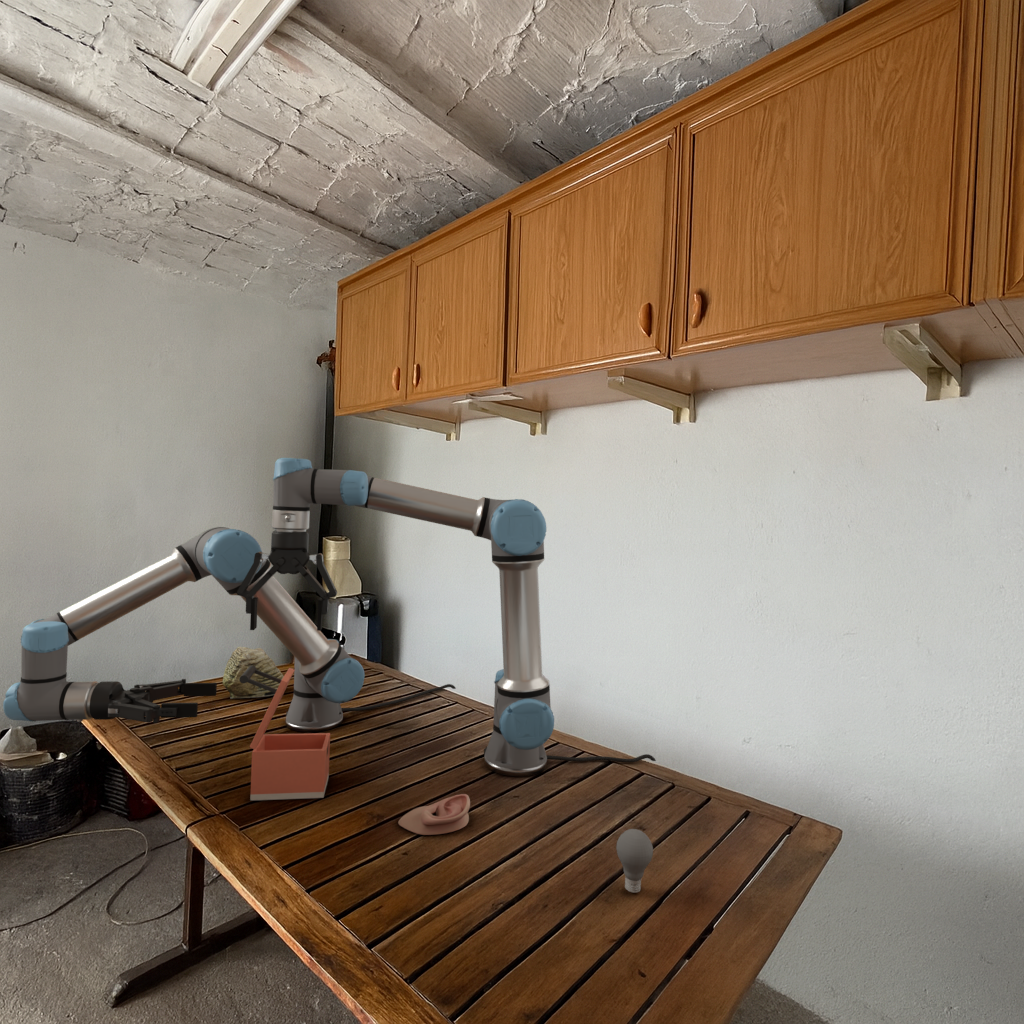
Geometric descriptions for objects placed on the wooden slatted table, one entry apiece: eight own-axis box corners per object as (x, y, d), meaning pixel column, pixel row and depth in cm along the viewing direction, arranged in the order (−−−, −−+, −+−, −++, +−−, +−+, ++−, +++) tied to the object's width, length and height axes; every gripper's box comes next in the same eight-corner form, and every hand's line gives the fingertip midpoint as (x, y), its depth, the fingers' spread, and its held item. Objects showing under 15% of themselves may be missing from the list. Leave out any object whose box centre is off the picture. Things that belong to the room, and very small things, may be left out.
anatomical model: (392, 810, 121) (414, 784, 132) (391, 830, 121) (413, 803, 132) (459, 820, 118) (475, 792, 130) (458, 841, 118) (474, 812, 130)
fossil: (218, 695, 195) (220, 647, 195) (278, 685, 208) (279, 640, 207) (228, 703, 189) (230, 653, 188) (289, 692, 201) (290, 645, 201)
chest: (328, 777, 143) (330, 732, 143) (323, 797, 133) (325, 750, 133) (260, 779, 140) (262, 734, 140) (250, 800, 131) (252, 752, 131)
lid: (295, 669, 141) (255, 653, 140) (287, 682, 132) (245, 665, 130) (265, 732, 140) (225, 717, 139) (255, 749, 131) (212, 733, 129)
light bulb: (610, 879, 108) (613, 822, 108) (644, 879, 109) (647, 822, 109) (619, 902, 102) (622, 840, 102) (655, 901, 103) (658, 840, 103)
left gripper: (121, 699, 142) (222, 698, 146) (64, 742, 117) (187, 739, 121) (122, 666, 142) (223, 665, 146) (65, 701, 117) (188, 700, 121)
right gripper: (223, 529, 130) (220, 632, 130) (349, 533, 134) (345, 633, 135) (233, 527, 137) (229, 625, 137) (351, 531, 142) (347, 625, 142)
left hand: (207, 699), depth 133 cm, fingers open, 13 cm apart
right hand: (286, 629), depth 136 cm, fingers open, 13 cm apart
